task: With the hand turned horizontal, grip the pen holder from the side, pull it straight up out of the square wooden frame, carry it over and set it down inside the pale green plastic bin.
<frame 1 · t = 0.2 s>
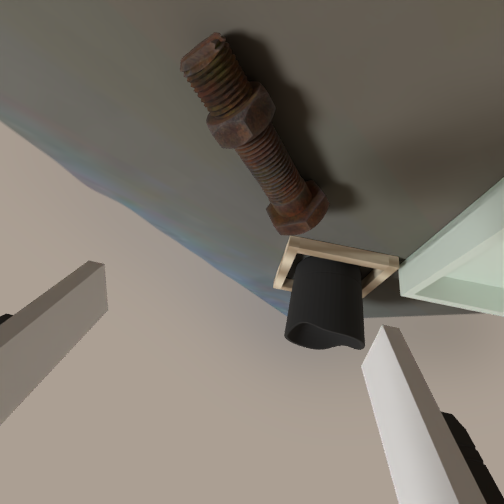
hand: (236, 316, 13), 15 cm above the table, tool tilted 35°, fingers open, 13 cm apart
square wooden frame: (327, 269, 39), on the table
bolt: (268, 128, 22), on the table
pen holder: (327, 268, 39), resting in square wooden frame
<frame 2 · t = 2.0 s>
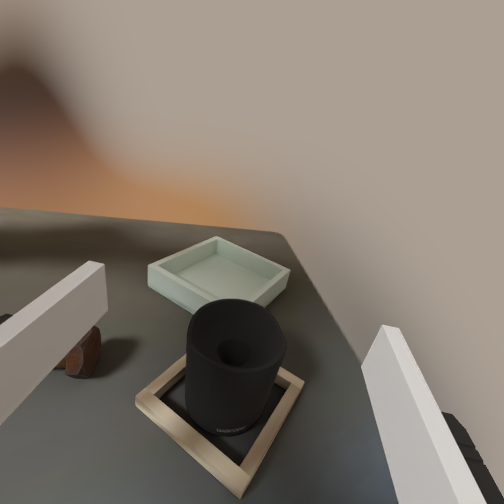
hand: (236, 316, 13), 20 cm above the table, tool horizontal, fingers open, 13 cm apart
square wooden frame: (225, 397, 31), on the table
bin: (221, 287, 49), on the table
bolt: (20, 366, 31), on the table
pen holder: (224, 398, 31), resting in square wooden frame
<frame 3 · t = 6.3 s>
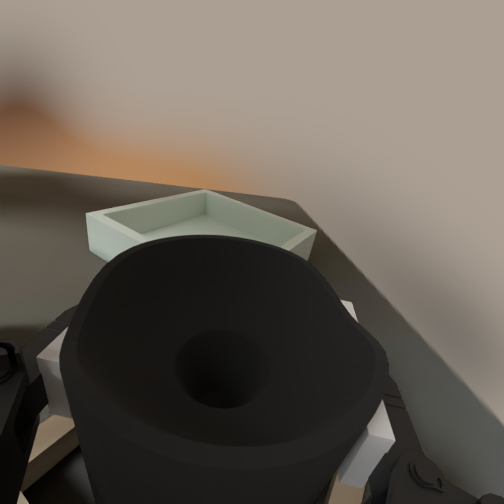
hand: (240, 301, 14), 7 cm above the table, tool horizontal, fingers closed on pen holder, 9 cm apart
square wooden frame: (205, 466, 13), on the table
bin: (210, 255, 31), on the table
pen holder: (204, 468, 14), resting in square wooden frame, touching gripper
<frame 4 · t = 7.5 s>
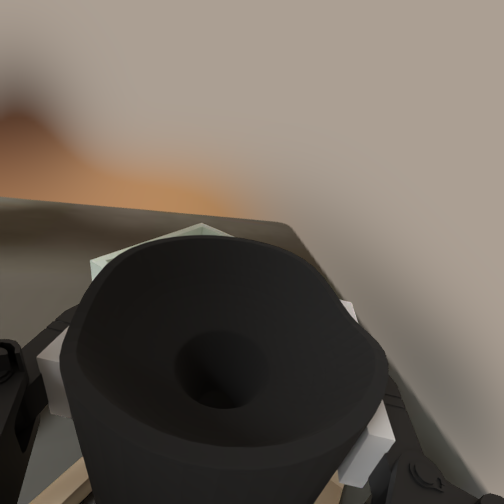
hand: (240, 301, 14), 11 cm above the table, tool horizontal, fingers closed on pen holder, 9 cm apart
bin: (205, 292, 34), on the table
pen holder: (204, 469, 14), point 5 cm above the table, touching gripper
when the fingers open (9 cm above the table, at t = 11.8 s): pen holder drops 2 cm, resting on bin.
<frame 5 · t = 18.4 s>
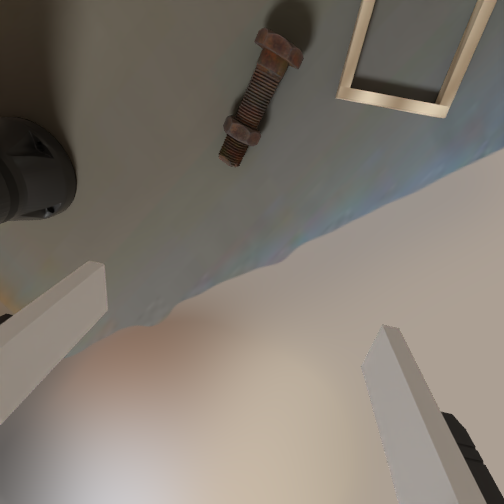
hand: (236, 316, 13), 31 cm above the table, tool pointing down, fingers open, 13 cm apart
square wooden frame: (408, 44, 32), on the table
bolt: (254, 107, 37), on the table
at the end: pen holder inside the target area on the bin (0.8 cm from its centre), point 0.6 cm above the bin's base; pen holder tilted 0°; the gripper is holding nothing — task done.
